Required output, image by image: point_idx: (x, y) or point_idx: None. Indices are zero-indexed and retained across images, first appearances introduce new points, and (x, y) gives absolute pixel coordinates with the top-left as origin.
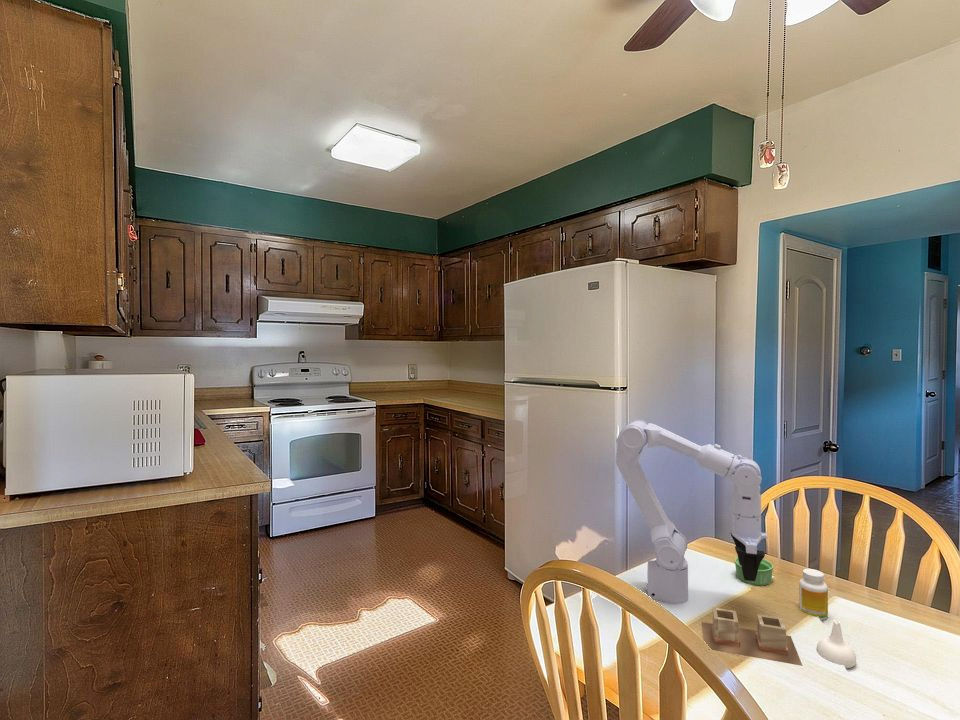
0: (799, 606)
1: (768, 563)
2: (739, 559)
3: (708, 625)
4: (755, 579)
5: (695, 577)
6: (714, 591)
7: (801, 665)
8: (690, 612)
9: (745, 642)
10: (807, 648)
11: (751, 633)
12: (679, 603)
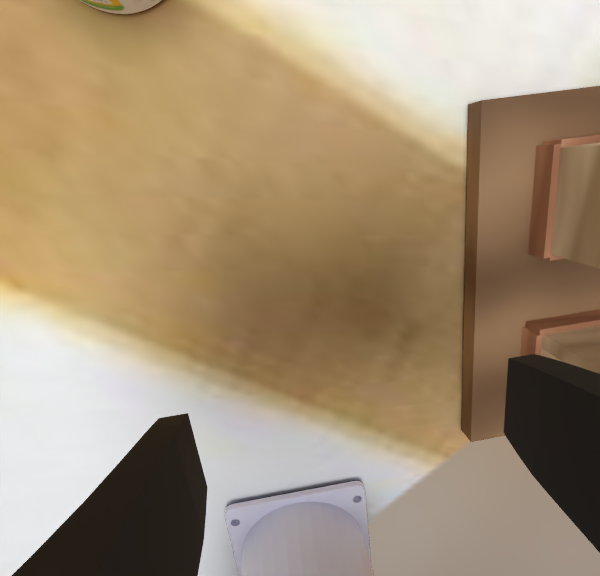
0: (110, 4)
1: None
2: (197, 549)
3: (489, 418)
4: (547, 358)
5: (28, 511)
6: (132, 427)
7: None
8: (371, 474)
9: (580, 291)
10: (511, 29)
11: (505, 271)
12: (354, 523)
